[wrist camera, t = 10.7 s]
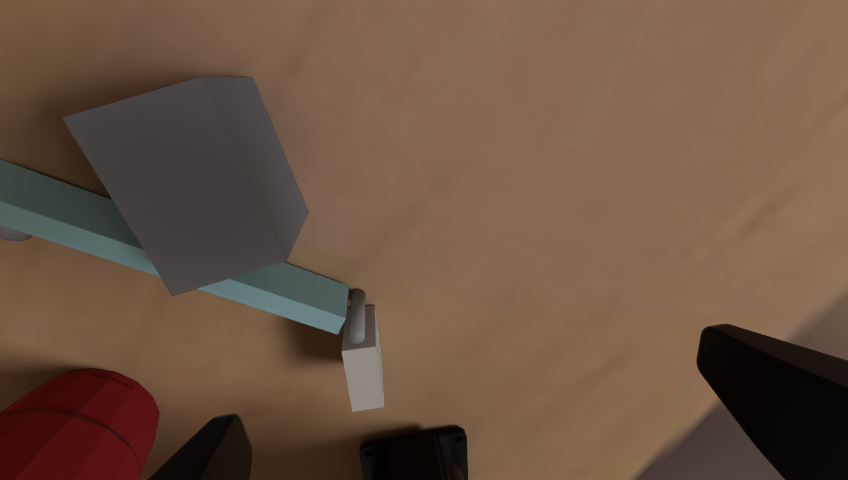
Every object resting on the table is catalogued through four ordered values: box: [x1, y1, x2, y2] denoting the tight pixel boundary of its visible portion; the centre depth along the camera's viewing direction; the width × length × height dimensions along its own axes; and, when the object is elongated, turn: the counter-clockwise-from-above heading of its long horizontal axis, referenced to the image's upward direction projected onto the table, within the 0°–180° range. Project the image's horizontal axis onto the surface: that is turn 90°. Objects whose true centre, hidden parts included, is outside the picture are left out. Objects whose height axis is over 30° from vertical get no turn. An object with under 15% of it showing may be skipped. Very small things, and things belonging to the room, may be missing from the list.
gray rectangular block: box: [62, 77, 309, 296], centre depth 15 cm, size 6×4×6 cm, turn 15°
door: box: [0, 159, 349, 335], centre depth 17 cm, size 15×2×3 cm, turn 63°
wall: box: [342, 289, 384, 412], centre depth 16 cm, size 24×2×4 cm, turn 4°
